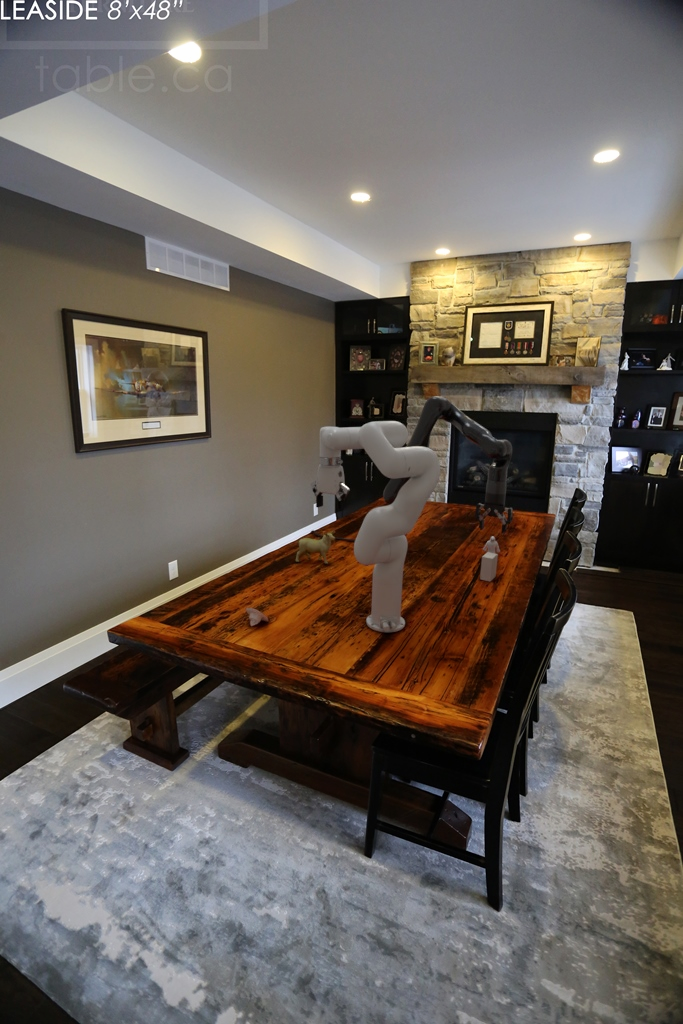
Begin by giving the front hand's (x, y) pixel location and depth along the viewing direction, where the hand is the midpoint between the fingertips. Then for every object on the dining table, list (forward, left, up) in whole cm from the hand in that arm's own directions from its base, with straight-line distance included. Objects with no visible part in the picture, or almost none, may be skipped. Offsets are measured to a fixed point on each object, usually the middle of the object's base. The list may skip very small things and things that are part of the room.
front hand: (329, 508), depth 181 cm
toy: (+30, +4, -32) cm, 44 cm away
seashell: (-27, +25, -32) cm, 48 cm away
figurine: (+31, -75, -32) cm, 87 cm away
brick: (+10, -66, -32) cm, 74 cm away
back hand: (+10, -66, -12) cm, 67 cm away
